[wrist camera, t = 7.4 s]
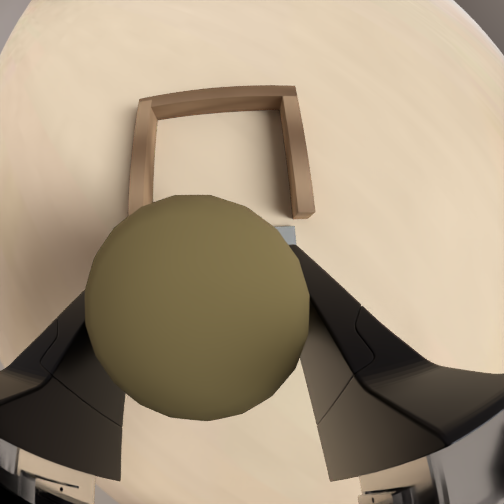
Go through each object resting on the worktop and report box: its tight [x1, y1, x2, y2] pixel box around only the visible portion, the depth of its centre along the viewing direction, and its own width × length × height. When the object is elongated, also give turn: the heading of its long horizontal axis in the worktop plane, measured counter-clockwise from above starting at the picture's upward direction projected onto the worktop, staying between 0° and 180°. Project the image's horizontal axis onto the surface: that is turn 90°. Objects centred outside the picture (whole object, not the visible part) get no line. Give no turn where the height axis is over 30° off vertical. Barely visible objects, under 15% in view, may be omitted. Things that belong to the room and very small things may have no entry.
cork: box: [85, 195, 310, 421], centre depth 10 cm, size 6×6×11 cm
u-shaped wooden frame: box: [128, 85, 315, 219], centre depth 16 cm, size 9×11×2 cm
